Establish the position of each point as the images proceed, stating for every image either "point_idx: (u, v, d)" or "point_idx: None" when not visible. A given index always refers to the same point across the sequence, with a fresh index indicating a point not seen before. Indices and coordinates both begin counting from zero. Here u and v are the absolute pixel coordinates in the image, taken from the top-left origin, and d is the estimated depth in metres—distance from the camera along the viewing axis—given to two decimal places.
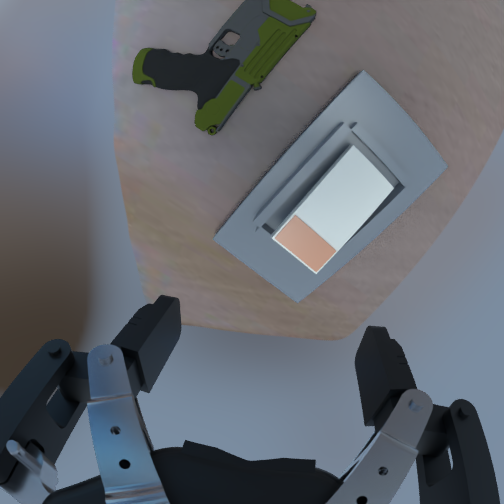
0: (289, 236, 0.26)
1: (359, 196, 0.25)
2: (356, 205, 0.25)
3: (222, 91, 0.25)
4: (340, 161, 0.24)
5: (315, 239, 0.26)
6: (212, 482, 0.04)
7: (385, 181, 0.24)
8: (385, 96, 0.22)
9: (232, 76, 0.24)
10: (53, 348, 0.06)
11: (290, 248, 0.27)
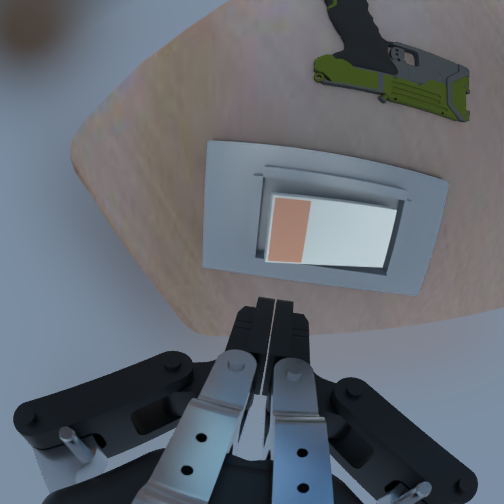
0: (287, 210, 0.22)
1: (360, 245, 0.24)
2: (351, 248, 0.24)
3: (363, 70, 0.21)
4: (378, 208, 0.23)
5: (299, 236, 0.23)
6: (212, 482, 0.04)
7: (383, 256, 0.25)
8: (440, 211, 0.24)
9: (381, 73, 0.21)
10: (171, 363, 0.07)
11: (275, 219, 0.23)
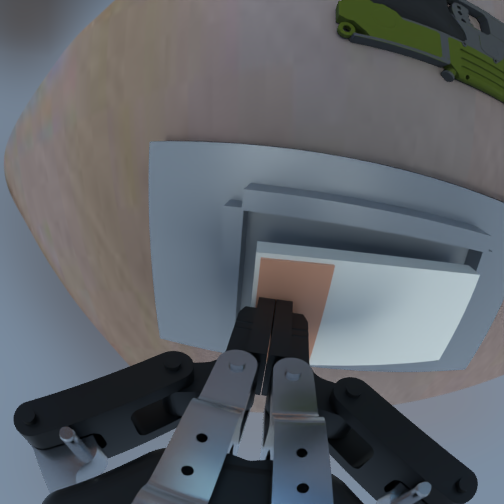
0: (284, 282, 0.11)
1: (413, 334, 0.12)
2: (398, 340, 0.12)
3: (417, 25, 0.09)
4: (455, 274, 0.11)
5: (308, 326, 0.12)
6: (212, 482, 0.04)
7: (444, 346, 0.12)
8: None
9: (444, 34, 0.09)
10: (172, 363, 0.07)
11: None
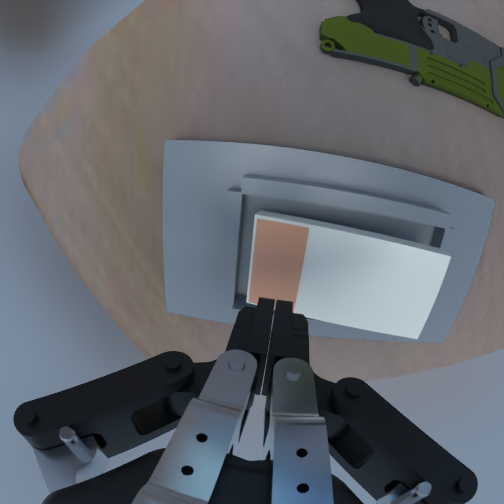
0: (273, 238, 0.16)
1: (385, 303, 0.15)
2: (371, 305, 0.15)
3: (388, 39, 0.13)
4: (421, 250, 0.13)
5: (291, 276, 0.16)
6: (212, 482, 0.04)
7: (421, 324, 0.15)
8: (482, 238, 0.16)
9: (412, 45, 0.12)
10: (172, 362, 0.07)
11: (257, 248, 0.16)
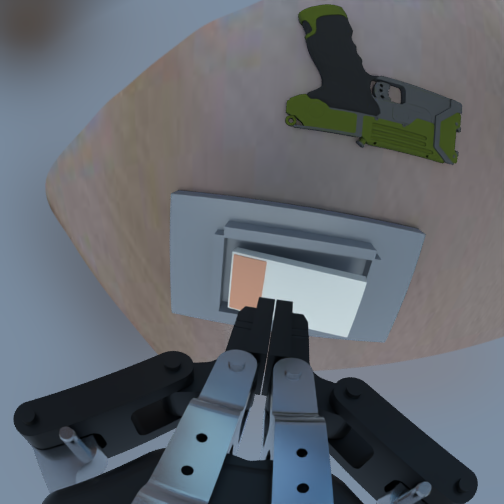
0: (244, 267, 0.24)
1: (320, 311, 0.24)
2: (310, 312, 0.24)
3: (340, 111, 0.22)
4: (343, 278, 0.22)
5: (256, 291, 0.25)
6: (212, 482, 0.04)
7: (348, 327, 0.23)
8: (412, 264, 0.25)
9: (360, 114, 0.21)
10: (172, 363, 0.07)
11: (234, 273, 0.25)
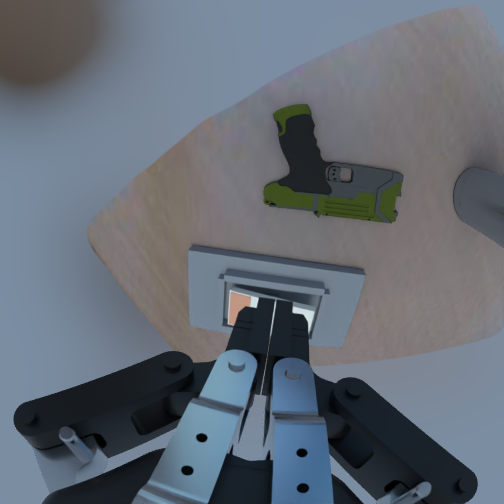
0: (237, 300, 0.38)
1: None
2: None
3: (301, 194, 0.35)
4: (299, 308, 0.35)
5: None
6: (212, 482, 0.04)
7: None
8: (356, 295, 0.38)
9: (316, 194, 0.35)
10: (172, 363, 0.07)
11: (231, 303, 0.39)
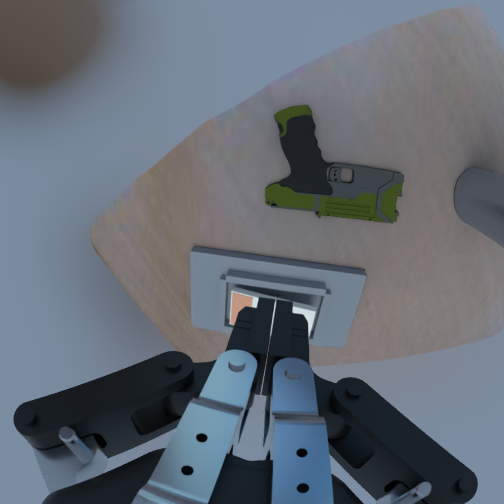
0: (238, 300, 0.38)
1: None
2: None
3: (303, 194, 0.35)
4: (300, 308, 0.36)
5: None
6: (212, 482, 0.04)
7: None
8: (358, 295, 0.38)
9: (318, 195, 0.35)
10: (172, 362, 0.07)
11: (233, 303, 0.39)
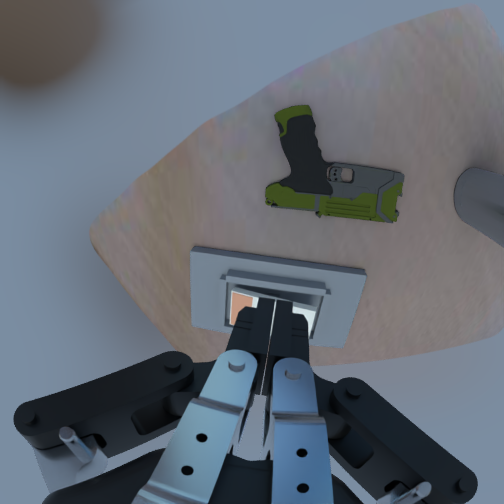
0: (238, 300, 0.38)
1: None
2: None
3: (303, 194, 0.35)
4: (300, 308, 0.36)
5: None
6: (212, 482, 0.04)
7: None
8: (358, 295, 0.38)
9: (318, 195, 0.35)
10: (172, 362, 0.07)
11: (233, 303, 0.39)
